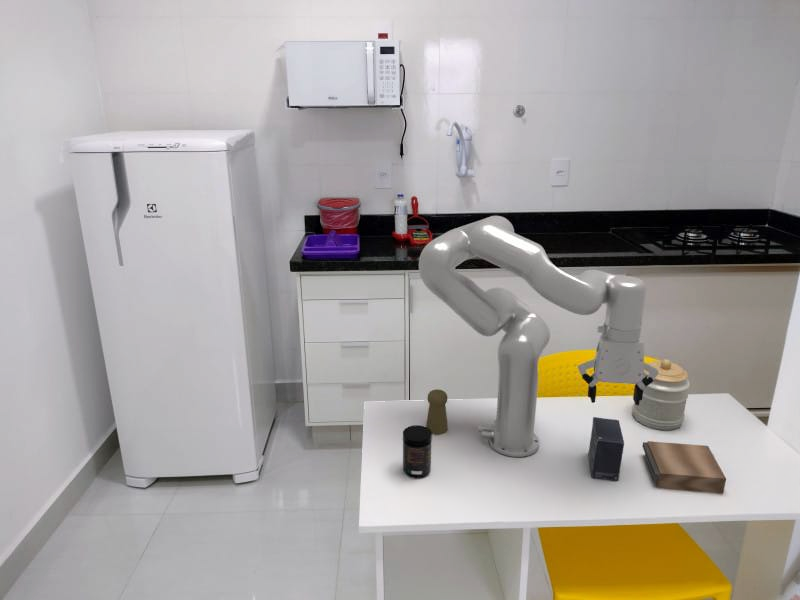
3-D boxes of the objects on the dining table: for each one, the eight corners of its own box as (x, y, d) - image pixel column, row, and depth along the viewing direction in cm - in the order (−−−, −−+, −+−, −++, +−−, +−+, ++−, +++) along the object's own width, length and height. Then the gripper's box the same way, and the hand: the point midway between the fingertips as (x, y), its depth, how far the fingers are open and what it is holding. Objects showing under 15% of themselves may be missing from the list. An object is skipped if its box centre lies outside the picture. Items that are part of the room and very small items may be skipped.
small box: (620, 482, 144) (625, 443, 140) (590, 478, 145) (595, 440, 141) (614, 456, 154) (620, 418, 150) (587, 452, 155) (592, 416, 151)
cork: (452, 426, 166) (453, 390, 162) (441, 437, 161) (442, 400, 157) (432, 420, 169) (433, 384, 165) (421, 430, 164) (421, 393, 160)
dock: (653, 487, 142) (655, 472, 141) (641, 454, 154) (643, 440, 153) (723, 493, 140) (726, 478, 138) (705, 459, 152) (708, 445, 151)
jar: (678, 409, 175) (688, 351, 168) (687, 434, 163) (698, 373, 157) (629, 403, 177) (637, 347, 171) (634, 427, 166) (643, 368, 159)
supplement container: (429, 461, 151) (430, 424, 148) (432, 479, 145) (433, 440, 141) (401, 463, 151) (401, 425, 147) (403, 480, 145) (403, 441, 141)
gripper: (583, 337, 135) (577, 407, 141) (667, 341, 132) (657, 411, 138) (579, 324, 142) (573, 391, 148) (659, 327, 139) (649, 395, 145)
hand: (614, 401), depth 143 cm, fingers open, 9 cm apart
